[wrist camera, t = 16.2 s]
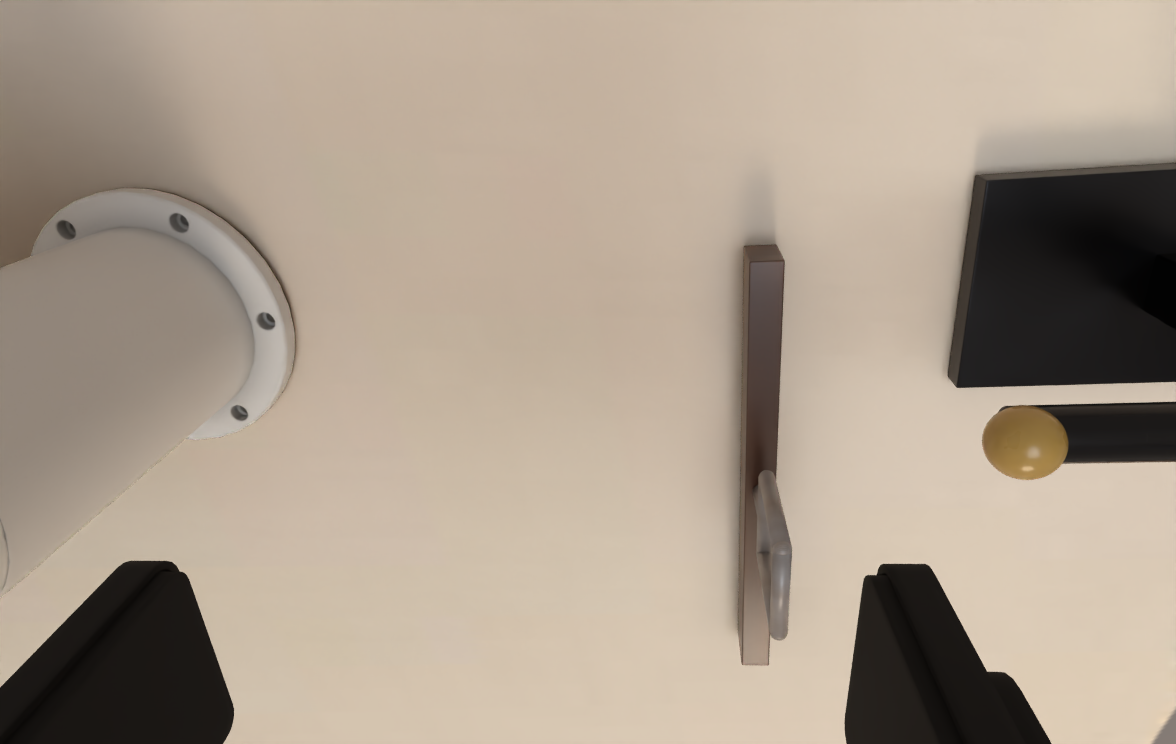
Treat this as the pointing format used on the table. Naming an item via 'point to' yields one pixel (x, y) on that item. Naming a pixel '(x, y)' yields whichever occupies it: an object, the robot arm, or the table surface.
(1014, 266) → the coat stand
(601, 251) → the table surface
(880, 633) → the robot arm
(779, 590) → the hanger
